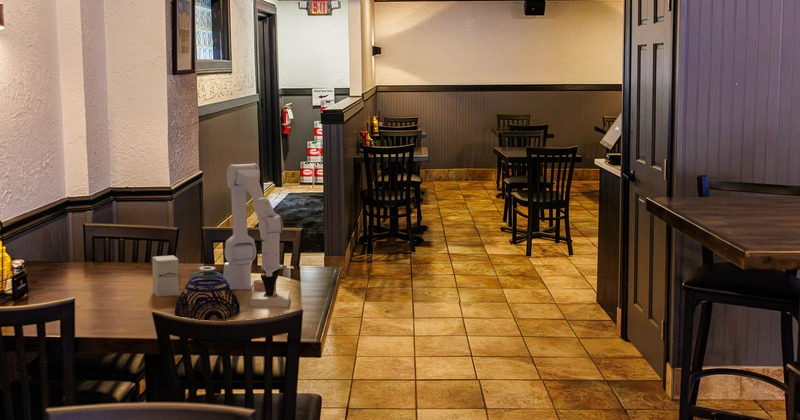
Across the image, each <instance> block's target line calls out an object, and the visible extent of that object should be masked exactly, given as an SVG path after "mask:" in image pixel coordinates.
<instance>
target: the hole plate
mask: <svg viewBox="0 0 800 420" xmlns="http://www.w3.org/2000/svg"><path fill="white" fill-rule="evenodd" d="M290 293H291V292H290V291H285V290H284V291H282V290H281V291H280V290H279V291H278V290H276V297H266V292H265V291H254V292H253V293H252V294H251V297H250V307H251V306H263V307H264V306H265V307H267V308H269V307H270V308H273V307H274V308H275V307H276V308H279V307H280V308H288V307H289V303H290V295H291V294H290Z"/></svg>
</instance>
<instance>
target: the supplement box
mask: <svg viewBox="0 0 800 420" xmlns="http://www.w3.org/2000/svg"><path fill="white" fill-rule="evenodd" d="M151 259H152V262H151V263H152V266H151V267H152V294H154V295H155V296H156V297H157V298H160V297H161V298H162V297H169V296H170V297H171V296H180V292H179V291H180V289H179V285H180V284H179V259H178V257H177V256H175V255H172V254H171V255H158V256H152V258H151Z"/></svg>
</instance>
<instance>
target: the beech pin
mask: <svg viewBox="0 0 800 420" xmlns="http://www.w3.org/2000/svg"><path fill="white" fill-rule="evenodd" d="M276 291H277V281H276V282H275V287H274V293H273V296H266V297H276Z"/></svg>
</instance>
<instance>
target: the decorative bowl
mask: <svg viewBox="0 0 800 420" xmlns="http://www.w3.org/2000/svg"><path fill="white" fill-rule="evenodd" d="M198 268H199V270H200V271H197V272H194V274H193V275H192V276H193V277H191V278H190V279H189V280H187V283H186V284H185V285H184V290H183V291H181V293H179V295H178V298H177V300H176V302H175V307H174V315H175V316H176V317H178V316H179V317H180V316H181V317H188V319H189V318H191V319H192V318H194V319H195V320H196V319H198V320H199V319H201V320H202V317H203V320H211V318H212V317H215V318H216V319H215V321H220V320H221V321H222V320H227V319H230V318H233V317H235V316H237V315H238V313H240V312H241V304H240V303H239V299H238V296H237V294H235V292H234V291H233V289H230V288H229V287H230V286H229V284H228V283H227V280H226V279H225V278H224V276H222V273H220V272H219V271H215V270H216V266H210V265H206V266H205V265H203V266H200V267H198ZM206 273H207V275H200V274H206ZM208 273H210V274H214V275H210V274H209V275H208ZM224 284H227V285H225V286H224ZM190 285H191V286H193V287H191V286H190ZM222 285H223V287H219V288H217V287H218V286H222ZM185 290H186V293H185ZM223 291H225V294H223V293H222V292H223ZM209 293H210V294H211V295H212V296H211V295H210V294H209ZM195 294H196V295H195ZM192 297H193V298H192ZM189 306H192V307H191V310H190V309H189ZM215 306H216V307H215ZM214 309H215V310H214ZM206 312H207V313H206ZM203 315H204V316H203Z"/></svg>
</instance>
